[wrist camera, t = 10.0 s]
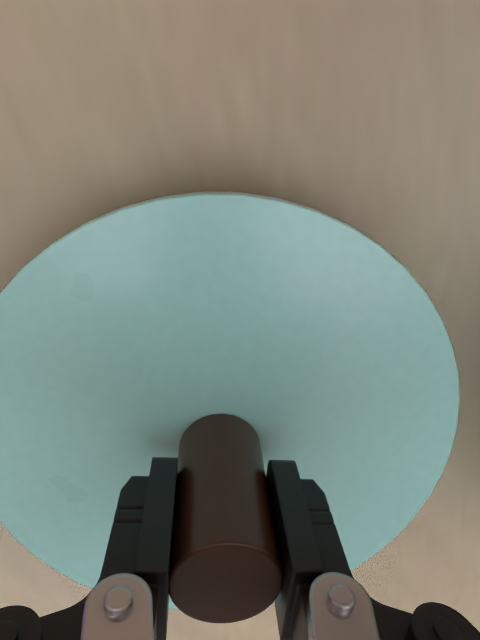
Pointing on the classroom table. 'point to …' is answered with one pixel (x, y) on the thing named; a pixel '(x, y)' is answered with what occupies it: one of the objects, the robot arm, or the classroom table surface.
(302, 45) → the classroom table surface
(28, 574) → the classroom table surface
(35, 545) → the pot lid
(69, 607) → the robot arm
